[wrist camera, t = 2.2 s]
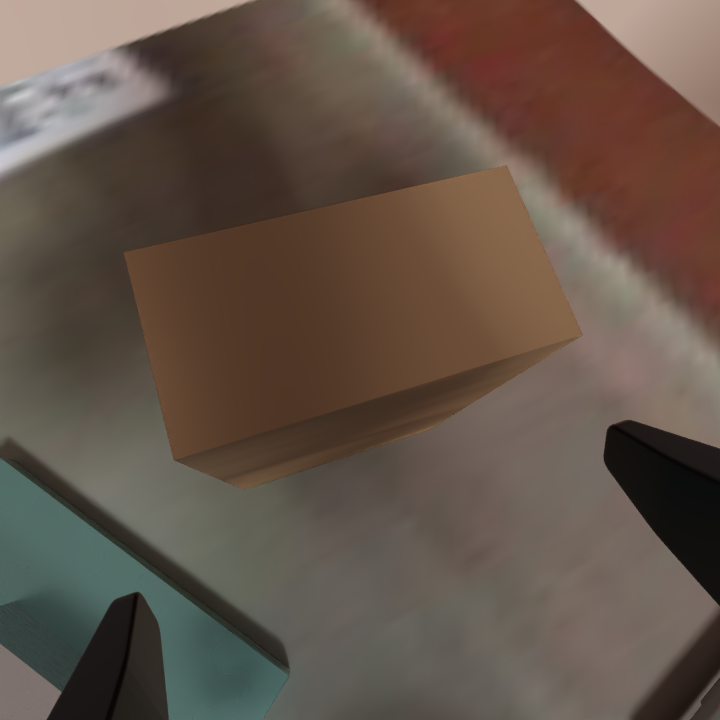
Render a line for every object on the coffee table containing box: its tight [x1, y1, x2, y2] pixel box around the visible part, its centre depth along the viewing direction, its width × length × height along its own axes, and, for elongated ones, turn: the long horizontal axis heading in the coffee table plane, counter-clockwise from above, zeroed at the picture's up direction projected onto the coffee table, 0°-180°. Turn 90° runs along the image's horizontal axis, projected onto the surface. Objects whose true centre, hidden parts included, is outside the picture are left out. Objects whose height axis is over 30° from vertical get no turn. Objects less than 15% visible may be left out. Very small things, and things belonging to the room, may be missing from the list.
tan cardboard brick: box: [124, 165, 583, 490], centre depth 14 cm, size 6×3×13 cm, turn 108°
